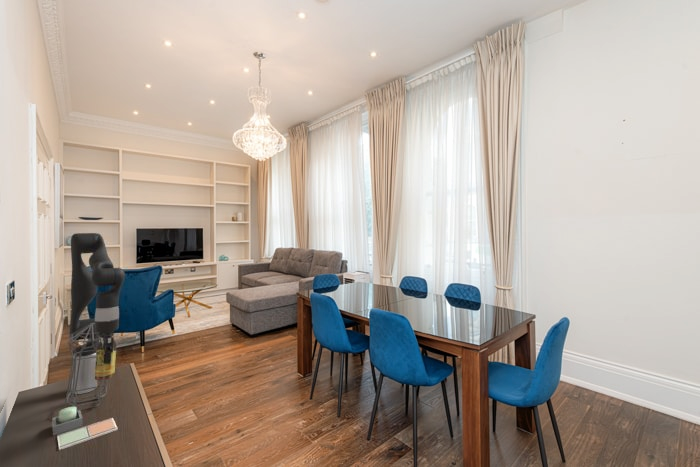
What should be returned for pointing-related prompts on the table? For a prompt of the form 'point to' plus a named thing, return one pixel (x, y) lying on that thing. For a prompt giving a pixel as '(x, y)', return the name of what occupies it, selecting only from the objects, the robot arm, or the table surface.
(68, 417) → the button
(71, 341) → the geometric lantern
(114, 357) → the sauce bottle
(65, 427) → the button housing
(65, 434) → the colouring card
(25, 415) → the table surface
